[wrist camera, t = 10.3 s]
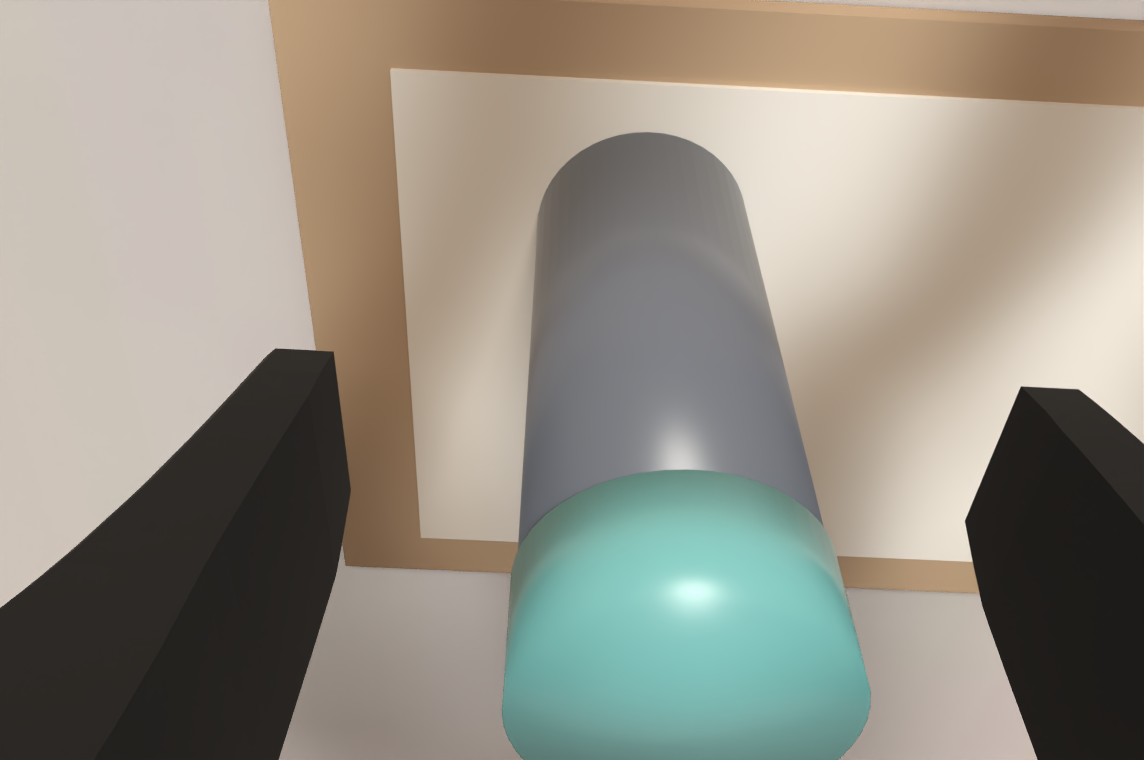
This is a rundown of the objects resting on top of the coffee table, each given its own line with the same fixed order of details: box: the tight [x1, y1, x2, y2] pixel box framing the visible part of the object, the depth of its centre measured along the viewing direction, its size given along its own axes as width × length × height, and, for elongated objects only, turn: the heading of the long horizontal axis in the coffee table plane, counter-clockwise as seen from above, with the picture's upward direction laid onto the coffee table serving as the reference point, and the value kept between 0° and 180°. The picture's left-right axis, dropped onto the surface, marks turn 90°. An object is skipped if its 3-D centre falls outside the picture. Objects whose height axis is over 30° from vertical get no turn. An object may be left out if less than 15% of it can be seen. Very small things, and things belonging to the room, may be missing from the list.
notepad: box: [268, 0, 1144, 593], centre depth 17 cm, size 18×11×1 cm, turn 87°
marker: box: [502, 132, 871, 760], centre depth 12 cm, size 3×3×8 cm
